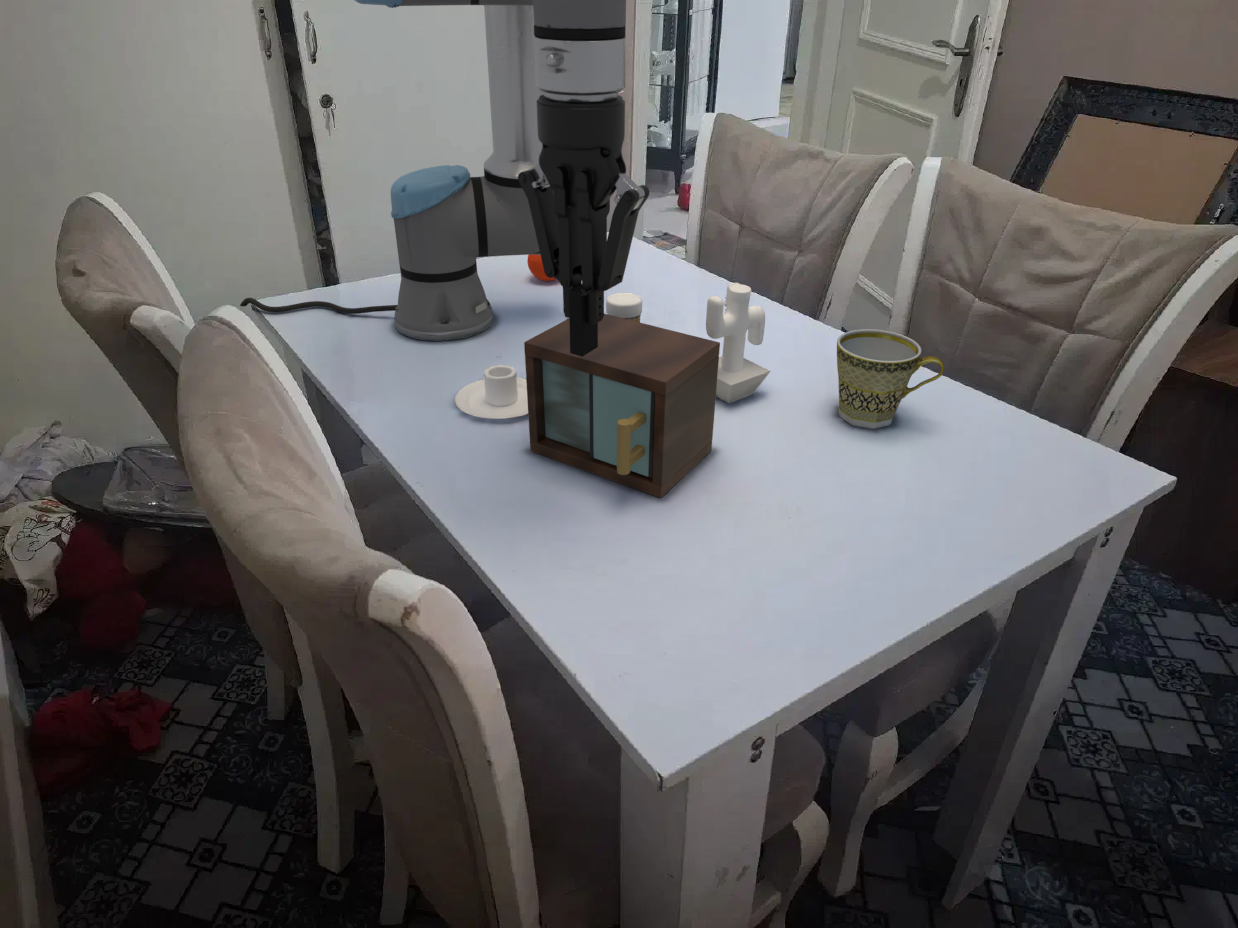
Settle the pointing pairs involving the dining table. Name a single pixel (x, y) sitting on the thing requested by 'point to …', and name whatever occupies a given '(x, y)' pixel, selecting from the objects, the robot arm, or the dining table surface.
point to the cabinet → (636, 359)
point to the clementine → (537, 267)
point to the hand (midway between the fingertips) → (584, 350)
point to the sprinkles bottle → (624, 306)
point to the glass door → (621, 425)
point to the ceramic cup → (876, 375)
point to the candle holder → (495, 395)
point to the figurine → (736, 342)
